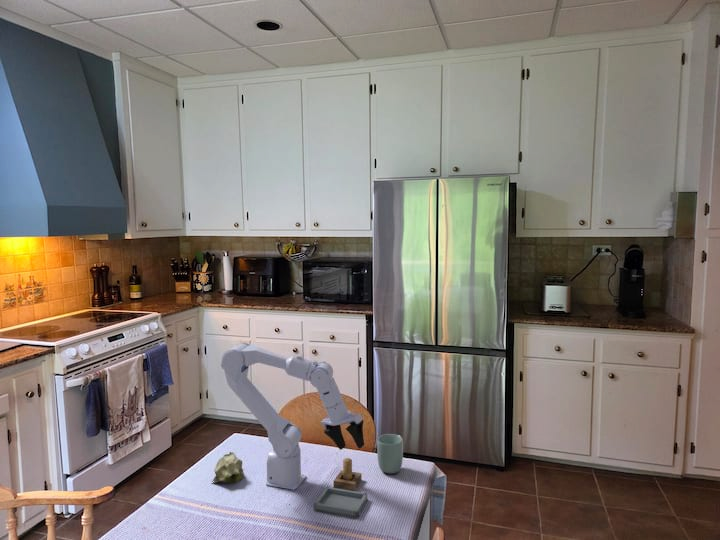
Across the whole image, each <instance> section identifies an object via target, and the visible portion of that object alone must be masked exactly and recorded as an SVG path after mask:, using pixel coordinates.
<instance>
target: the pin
mask: <svg viewBox="0 0 720 540" xmlns="http://www.w3.org/2000/svg"><path fill="white" fill-rule="evenodd" d="M342 470H343V480H348V481H352V472H353V460H352V459H351V458H350V457H349V458H347V457H346V458H344V459H342Z"/></svg>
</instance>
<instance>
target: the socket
mask: <svg viewBox="0 0 720 540" xmlns="http://www.w3.org/2000/svg"><path fill="white" fill-rule="evenodd" d="M332 481H333V488H337V489H343V490H349V491H356V489H357V488H358V486H359V485H360V483H361V481H362V473H361V472H355V471H352V481H348V480H343V469H341V470H340V471H339V472H338V473H337V475H336V476H335V478H334V479H333V480H332Z"/></svg>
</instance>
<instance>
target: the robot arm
mask: <svg viewBox="0 0 720 540" xmlns="http://www.w3.org/2000/svg"><path fill="white" fill-rule="evenodd" d="M255 364H262V365H266V366H269V367H274V368H278V369H281V370H284V371H285V372H286V374H287V376H291V377H292V378H293V377H294V378H297V379H301V380H303V381H305V382H306V381H307V382H309V383H310V384H311V385H312V386H313V387H314V388H316V390H317V393H318V395H319V398H320V400H321V402H322V404H323V407H324V409H325V412H326V415H327V416H328V417H326V418H324V419H322V420H321V421H320V423H321V425H322V428H325V429H324V430H323V433H324V434H325V435H326V436H328V437H329V438H330V439H331V440H332V441H333V443H334V444H335V445H336V446H337V448H338V449H339V450H343V449H344V448H345V447H347V446H346V442H345V439H344V436H343V433H342V427H341V426H342V425H348V426H347V427H346V428H345V430H346V431H347V432H348V433H349V435H350V436H351V438H352V439H353V440H354V443H355V445H356V446H357V448H358V449H362V447H364V446H365V440H364V433H363V431H364V429H363V428H364V419H362V416H361V414H360V413H352V412H351V411H350V410H348V409H347V406H346V402H345V401H344V398H343V396H342V394H341V392H340V389H339V387H338V385H337V383H336V381H335V378H334V377H333V375H334V369H333V367H332V365H331V364H329V363H328V362H326V361H320V362H318V360H314V361H312V360H309V359H306V358H305V357H304V358H303V355H301V354H298V355H292V356H290V357H286V356H284V355H280V354H278V353H275V352H272V351H269V350H268V349H264V348H263V347H260V346H258V345H256V344H251V343H250V344H249V343H247V342H240V343H238V344H236V345H235V346H233V347H231V349H228V350H226V351H225V352H224V353H223V355H222V358H221V363H220V367H221V369H223V370H224V375H225V378H226V382H227V385H228V387H229V388H230V389H231V390H232V391H233V392H234V394H235V396H237V398H239V399H240V401H241V402H242V403H243V404H244V406H246V408H247V409H248V410H249V412H250V413H251V414H252V415H253V416H254V417H255V418H256V420H258V422H259V423H260V424H261V425H262V426H263V428H264V429H265V430H266V431H267V438H268V442H269V443H270V444H271V446H272V449H271V451H269V453H268V455H267V460H266V483H265V485H266V486H271V487H276V488H282V489H288V490H294V491H295V490H297V488H298V487H299V486H300V485H301V484H302V483H303V482H304V480H305V479H306V478H307V475H306V474H302V465H301V464H302V463H301V462H302V461H301V458H302V456H301V448H300V445H299V443H300V442H301V440H302V438H303V433H302V430H301V428H300V427H299V426H297V425H296V424H293V423H292V422H291V421H290V420H289V419H288V418H285V417H284V418H283V417H282V416H281V415H280V414H279V413H278V412H277V410H276V409H275V408H274V407H273V406H272V405H271V404H270V403H269V401H268V400H267V399H266V398H265V396H263V394H262V393H261V392H260V391H259V390H258V389H257V387H256V386H255V385H254V383H253V382H252V381H251V380H250V379H249V377H248V374H249V367H250V366H252V365H255Z"/></svg>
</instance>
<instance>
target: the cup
mask: <svg viewBox="0 0 720 540" xmlns="http://www.w3.org/2000/svg"><path fill="white" fill-rule="evenodd" d="M376 443H377V444H376V445H377V446H376V447H377V449H376V450H377V463H378V467H379V469H380V470H381V472H383V473H384V474H390V475H392V474H397V473H398V472H399V471H400V470H401V468H402V466H403V458H404V440H403V437H402V436H401V435H399V434H394V433H384V434H382V435H379V436H378V437H377V442H376Z"/></svg>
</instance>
